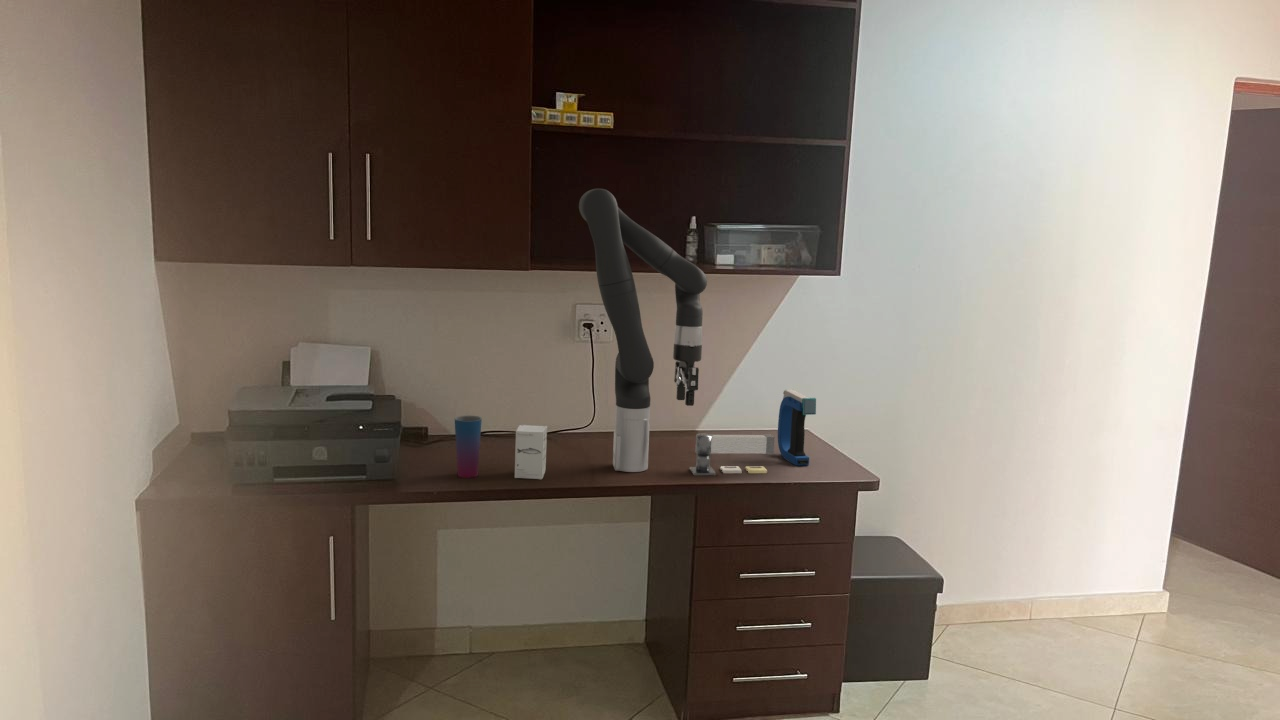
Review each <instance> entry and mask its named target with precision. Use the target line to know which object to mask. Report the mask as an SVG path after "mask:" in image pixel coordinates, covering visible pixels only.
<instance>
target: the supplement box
mask: <svg viewBox="0 0 1280 720" xmlns="http://www.w3.org/2000/svg"><path fill="white" fill-rule="evenodd" d="M547 435H548V426H547V425H545V426H544V425H533V424H532V425H529V424H519V425H518V427H517V428H516V429H515V445H514V446H515V448H514V450H515V451H514V452H515V453H514V479H531V480H543V478H544V476H545V473H546V466H547V444H548V443H547V438H548V437H547Z"/></svg>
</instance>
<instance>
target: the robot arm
mask: <svg viewBox="0 0 1280 720" xmlns="http://www.w3.org/2000/svg"><path fill="white" fill-rule="evenodd" d="M578 209H579V213H580V215H581V217H582V219H583V220H584V221H585V222H586V223H587V225H588V228H589V232H590V235H591V238H592V241H593V242H592V243H593V246H594V251H595V252H594V253H595V254H594V255H595V268H596V269H595V270H596V278H597V284H598V289H599V293H600V297H601V301H602V302H603V303H602V304H603V307H604V309H605V312H606V314H607V317H608V319H609V322H610V324H611V326H612V329H613V332H614V334H615V339H616V344H617V350H618V353H617V355H616V359H615V363H614V364H615V367H614V394H615V416H614V417H615V418H614V419H615V420H614V421H615V422H614V431H613V443H612V444H613V446H612V447H613V449H612V466H613V469H614V470H615V471H620V472H626V473H640V472H644V471H647V470H648V468H649V467H648V466H649V449H650V448H649V447H650V445H649V443H650V419H651V418H650V417H651V394H650V383H649V382H650V377H651V376H652V374H653V372H654V367H655V366H654V365H655V363H654V359H653V356H652V353H651V350H650V348H649V345H648V342H647V338H646V336H645V334H644V333H645V332H644V329H643V324H642V317H641V310H640V304H639V303H640V302H639V299H638V294H637V288H636V284H635V279H634V275H633V271H632V267H631V265H630V261H629V257H628V254H627V252H626V248H625V246H626V247H627V248H628V249H629V250H630V251H632V253H633V252H634V254H635V255H637V256H638V257H639V258H640V259H641V260H643V261H644V262H645V263H646V264H648V265H649V266H650V267H651V268H652V269H654V270H655V271H656V272H657V273H659V274H661V275H662V276H665V277H667V278H668V279H670V280H671V281H673V283H674V291H675V303H676V312H675V313H676V315H675V329H674V333H673V334H674V336H673V352H672V353H673V354H672V358H673V360H675V365H674V366H675V368H674V379H673V382H674V383H675V386H676V396H675V397H676V400H677V401H684V400H685V401H684V404H685V406H687V407H689V406H690V407H692V406H694V405H695V392H696V391H698V389H699V371H700V369H699V367H695V362H696V363H697V362H700V361H701V360H702V349H703V313H704V312H703V307H702V305H701V303H700V301H701V299H700V298H701V295H700V294H701V293H703V292H705V289H706V288H707V286H708V279H707V275H706V273H704V271H703V270H702V269H700V268H699V267H698V266H697V265H695V264H694V263H692V262H690V261H689V260H687V259H686V258H685V257H683V256H681V255H680V254H678V253H677V251H676V250H674V249H673V248H672V247H671V246H670V245H668V244H667V243H666V242H665V241H663V240H662V239H660V237H657V236H656V235H655V234H653V233H652V232H650V231H649V230H647V229H645V228H644V227H643V226H641V225H639V224H638V223H637V222H635V221H634V220H633V219H631V218H630V217H629V216H628V215H627V214H626V213H625V212H624V211H622V209H621V208H620V207H619V205H618V202H617V199H616V197H615V196H614V194H612V192H610V191H609V190H607V189H604V188H593V189H590V190H588V191H586V192H585V193H583V195H582V196H581V197H580V199H579V203H578ZM624 245H625V246H624Z"/></svg>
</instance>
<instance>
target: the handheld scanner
mask: <svg viewBox="0 0 1280 720" xmlns="http://www.w3.org/2000/svg"><path fill="white" fill-rule="evenodd" d="M808 415H811V416H813V415H817V398H816V397H808V396H806V395H804V394H802V393H800V392H799V391H796V390H794V389H785V390H783V397H782V400H781V402H780V405H779V412H778V422H777V443H778V444H777V445H778V450H779V452H780V455H781V457H782V458H783V459H784V460H786V461H788V462H789V463H791V464H792V465H794V466H795V467H797V466H800V467H801V466H809V465H810V457H809V456H808V455H806V452H805V432H806V431H805V421H806V417H807V416H808Z"/></svg>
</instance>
